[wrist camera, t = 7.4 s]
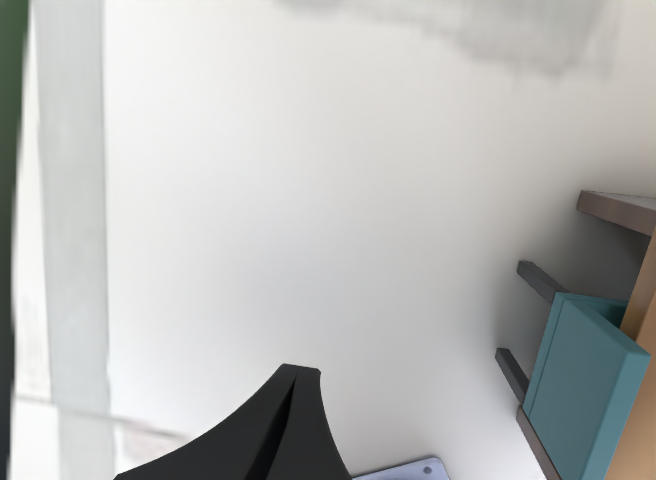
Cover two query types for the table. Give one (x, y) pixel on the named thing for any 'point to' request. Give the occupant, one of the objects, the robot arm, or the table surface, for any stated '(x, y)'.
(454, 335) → the table surface
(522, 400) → the chair
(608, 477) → the desk
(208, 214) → the table surface
